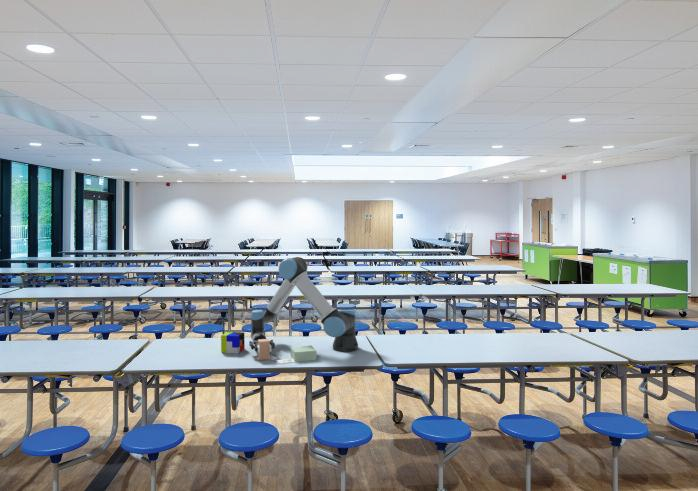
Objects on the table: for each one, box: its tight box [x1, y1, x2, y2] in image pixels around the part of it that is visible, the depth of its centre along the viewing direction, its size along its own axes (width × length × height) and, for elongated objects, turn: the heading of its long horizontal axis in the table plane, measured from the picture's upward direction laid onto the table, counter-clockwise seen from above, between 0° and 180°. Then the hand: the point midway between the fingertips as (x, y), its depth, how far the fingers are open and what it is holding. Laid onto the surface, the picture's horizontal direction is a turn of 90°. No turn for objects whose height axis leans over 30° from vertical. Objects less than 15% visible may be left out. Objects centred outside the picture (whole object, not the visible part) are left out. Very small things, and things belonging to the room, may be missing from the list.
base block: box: [290, 345, 317, 362], centre depth 283 cm, size 12×12×5 cm
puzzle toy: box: [220, 331, 246, 354], centre depth 299 cm, size 10×10×10 cm
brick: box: [257, 338, 271, 361], centre depth 282 cm, size 6×6×10 cm
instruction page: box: [275, 357, 299, 365], centre depth 277 cm, size 10×7×1 cm
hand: (265, 349), depth 277 cm, fingers closed on brick, 5 cm apart
